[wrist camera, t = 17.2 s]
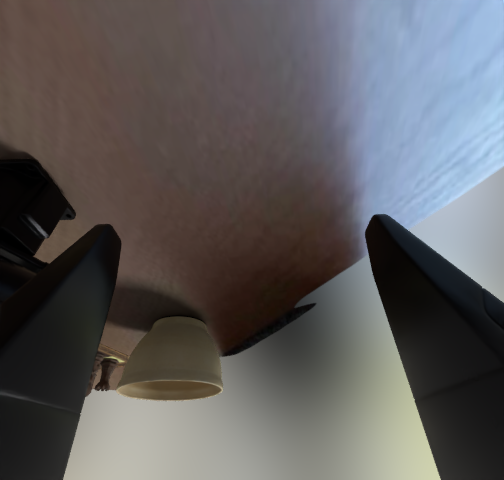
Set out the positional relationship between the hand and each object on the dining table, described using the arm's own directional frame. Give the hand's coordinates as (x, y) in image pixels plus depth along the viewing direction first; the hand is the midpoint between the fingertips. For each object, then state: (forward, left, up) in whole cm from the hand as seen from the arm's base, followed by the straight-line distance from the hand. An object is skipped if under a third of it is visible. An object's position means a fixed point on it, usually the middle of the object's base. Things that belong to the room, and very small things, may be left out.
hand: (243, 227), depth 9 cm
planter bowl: (-13, -40, -13) cm, 44 cm away
